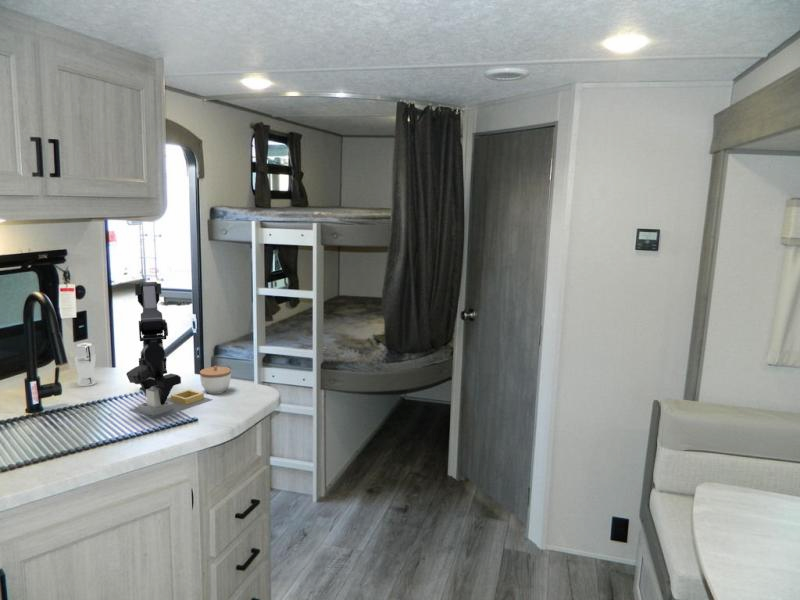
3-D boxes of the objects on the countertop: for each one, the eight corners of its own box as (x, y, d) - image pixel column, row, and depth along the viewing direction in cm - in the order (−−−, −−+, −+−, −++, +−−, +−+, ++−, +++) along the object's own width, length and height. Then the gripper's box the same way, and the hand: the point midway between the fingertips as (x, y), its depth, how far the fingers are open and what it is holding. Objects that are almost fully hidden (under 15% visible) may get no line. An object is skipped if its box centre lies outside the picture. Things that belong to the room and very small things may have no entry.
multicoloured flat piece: (129, 413, 182) (128, 404, 182) (186, 395, 201) (186, 386, 201) (156, 422, 175) (156, 412, 175) (213, 402, 194) (213, 394, 193)
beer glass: (81, 381, 215) (78, 342, 213) (100, 380, 216) (97, 342, 213) (72, 386, 208) (69, 347, 206) (92, 386, 209) (90, 346, 206)
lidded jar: (212, 397, 199) (211, 372, 197) (194, 391, 205) (193, 366, 204) (237, 390, 207) (236, 365, 206) (219, 384, 213) (219, 360, 212)
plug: (146, 410, 182) (145, 386, 181) (157, 407, 186) (156, 383, 184) (154, 413, 180) (153, 388, 179) (165, 409, 184) (164, 385, 182)
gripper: (112, 356, 178) (115, 404, 180) (149, 365, 169) (152, 415, 171) (144, 349, 187) (146, 394, 190) (181, 357, 178) (183, 405, 180)
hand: (156, 402), depth 183 cm, fingers open, 6 cm apart
